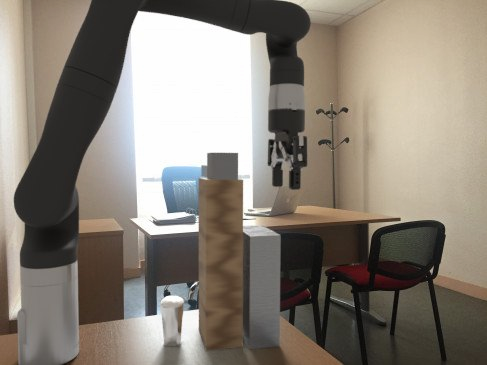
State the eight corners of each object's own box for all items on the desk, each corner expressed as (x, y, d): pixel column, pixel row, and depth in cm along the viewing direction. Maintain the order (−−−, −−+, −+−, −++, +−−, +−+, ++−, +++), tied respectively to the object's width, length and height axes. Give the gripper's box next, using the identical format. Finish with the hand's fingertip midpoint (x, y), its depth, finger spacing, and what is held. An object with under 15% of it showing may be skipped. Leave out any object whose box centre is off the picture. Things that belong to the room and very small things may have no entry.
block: (211, 179, 73) (211, 152, 73) (197, 176, 91) (197, 154, 91) (237, 179, 74) (238, 152, 74) (218, 176, 92) (218, 154, 92)
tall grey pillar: (249, 349, 75) (250, 236, 74) (235, 324, 86) (235, 226, 85) (279, 346, 76) (280, 235, 75) (261, 321, 88) (262, 225, 87)
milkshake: (183, 350, 74) (183, 297, 74) (156, 347, 76) (156, 295, 75) (191, 339, 79) (191, 289, 78) (166, 336, 80) (165, 288, 79)
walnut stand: (206, 350, 74) (206, 179, 73) (198, 328, 84) (198, 177, 82) (242, 346, 76) (243, 179, 74) (231, 325, 86) (231, 177, 84)
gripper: (257, 112, 87) (256, 186, 88) (284, 103, 73) (283, 190, 74) (288, 113, 89) (287, 185, 90) (320, 105, 76) (318, 190, 77)
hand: (285, 187), depth 82 cm, fingers open, 8 cm apart
